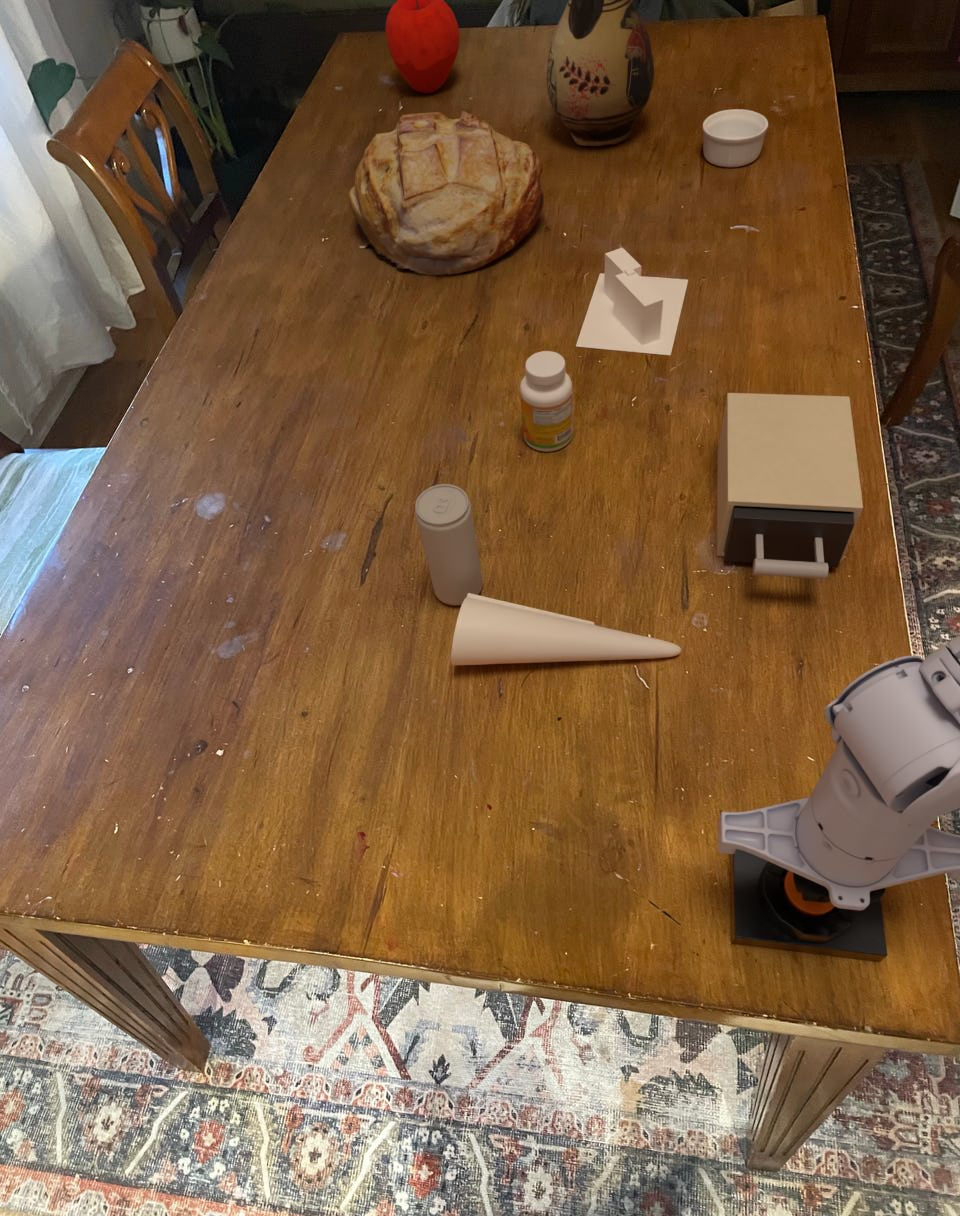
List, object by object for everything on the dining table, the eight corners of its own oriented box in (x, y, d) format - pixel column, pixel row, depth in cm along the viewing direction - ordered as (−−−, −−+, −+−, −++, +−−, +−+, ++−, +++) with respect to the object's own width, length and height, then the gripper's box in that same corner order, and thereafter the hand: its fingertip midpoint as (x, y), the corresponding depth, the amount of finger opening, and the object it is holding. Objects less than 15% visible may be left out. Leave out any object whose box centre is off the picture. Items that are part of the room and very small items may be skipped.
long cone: (669, 722, 73) (450, 678, 75) (674, 663, 77) (467, 623, 79) (683, 683, 68) (450, 638, 71) (688, 623, 72) (468, 583, 75)
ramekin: (687, 160, 122) (690, 129, 119) (720, 133, 126) (724, 102, 122) (742, 176, 118) (747, 145, 115) (774, 148, 122) (780, 117, 118)
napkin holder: (672, 355, 98) (676, 312, 93) (575, 347, 100) (575, 305, 96) (688, 278, 106) (693, 236, 101) (598, 273, 109) (599, 231, 104)
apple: (477, 77, 145) (468, -15, 134) (440, 108, 139) (427, 15, 128) (419, 68, 149) (406, -22, 138) (381, 98, 144) (365, 7, 133)
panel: (869, 862, 63) (882, 846, 60) (880, 962, 59) (895, 949, 56) (729, 847, 64) (736, 830, 61) (731, 943, 60) (738, 930, 58)
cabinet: (841, 563, 78) (863, 507, 72) (716, 556, 80) (727, 500, 74) (830, 455, 86) (849, 396, 80) (717, 450, 88) (727, 392, 82)
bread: (406, 177, 130) (380, 71, 118) (573, 187, 120) (562, 71, 108) (324, 270, 118) (286, 162, 106) (501, 290, 108) (480, 173, 96)
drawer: (841, 605, 75) (859, 562, 70) (724, 597, 77) (734, 554, 72) (827, 463, 85) (842, 417, 80) (724, 459, 87) (732, 413, 82)
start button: (831, 872, 61) (837, 864, 59) (836, 923, 59) (842, 916, 57) (779, 866, 61) (783, 858, 60) (781, 917, 59) (786, 910, 58)
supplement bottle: (526, 418, 94) (521, 345, 86) (574, 419, 93) (574, 346, 85) (520, 452, 91) (515, 380, 83) (571, 454, 90) (570, 381, 82)
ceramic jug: (592, 99, 136) (594, -143, 112) (670, 124, 129) (691, -128, 104) (520, 144, 130) (506, -102, 105) (598, 173, 123) (602, -83, 98)
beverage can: (490, 574, 82) (478, 488, 72) (473, 613, 79) (458, 529, 70) (444, 564, 83) (425, 478, 73) (426, 602, 81) (404, 519, 71)
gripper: (733, 866, 47) (704, 933, 58) (1020, 898, 44) (933, 961, 55) (730, 750, 51) (704, 833, 62) (994, 773, 48) (917, 855, 59)
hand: (812, 887), depth 59 cm, fingers closed, pressing on start button
